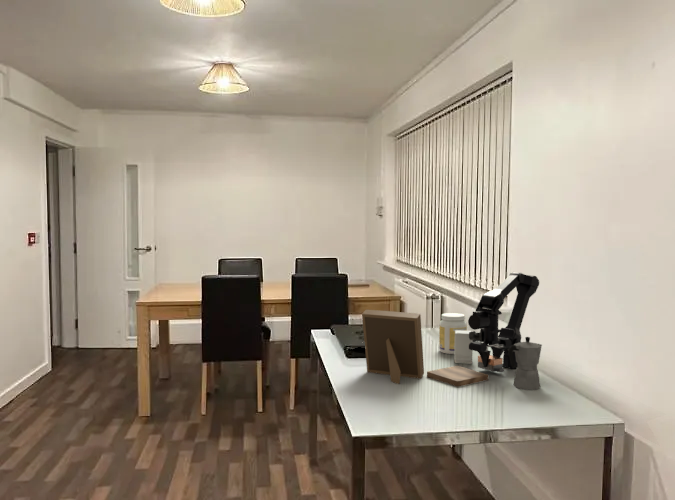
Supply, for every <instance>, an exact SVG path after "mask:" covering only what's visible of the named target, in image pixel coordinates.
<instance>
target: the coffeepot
mask: <svg viewBox="0 0 675 500" xmlns="http://www.w3.org/2000/svg"><path fill="white" fill-rule="evenodd" d="M542 346H543V344H540V343H536V342H531V337H529V336H526V337H525V341H521V342H520V343H516V344H514V345H512V346H510V348H509V349H508V354H509V358H510V362H511V365H512V368H515V373H514V374H515V375H514V379H513V386H514V387H515V388H516V389H520V390H525V391H535V390H539V389H540V388H541V381H540V375H539V370H538V365H539V362H540V357H541V351H542ZM514 350H515V356H516V362H517V363H518V367H517V365H515V364H514V362H515V361H514V358H513V351H514Z"/></svg>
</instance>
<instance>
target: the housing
mask: <svg viewBox="0 0 675 500" xmlns="http://www.w3.org/2000/svg"><path fill="white" fill-rule="evenodd" d="M502 364H503V357H496V356H493V354H492V355H491V354H490V356H489V361H488V365H487V367H484V365H483V362H482V359H481V356H480V355H478V356H477V368H479V369H482V370H487V371H488V372H489V371H490V372H492V373H494V372H497V373H504V372H505V367H503V366H502Z"/></svg>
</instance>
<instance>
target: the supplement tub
mask: <svg viewBox="0 0 675 500" xmlns="http://www.w3.org/2000/svg"><path fill="white" fill-rule="evenodd" d="M467 324H468V322H467V321H466V315H465V314H463V313H457V312H444V313H442V314H441V320H440V321H439V331H438V332H439V335H438V336H439V339H438V340H439V341H438V342H439V347H438V348H439V351H440V353H443V354H446V355H454V351H455V330H462V331H468V327H467V326H468V325H467Z"/></svg>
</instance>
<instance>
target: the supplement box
mask: <svg viewBox="0 0 675 500" xmlns="http://www.w3.org/2000/svg"><path fill="white" fill-rule="evenodd" d="M472 331H473V330H467V331H462V330H455V351H454V354H453V358H454V363H455V364H466V365H467V364H468V365H469V364H470V365H471V364H473V350H470V349H469V343H470V342H473V341H472V340H470V339H469V332H472Z"/></svg>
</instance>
